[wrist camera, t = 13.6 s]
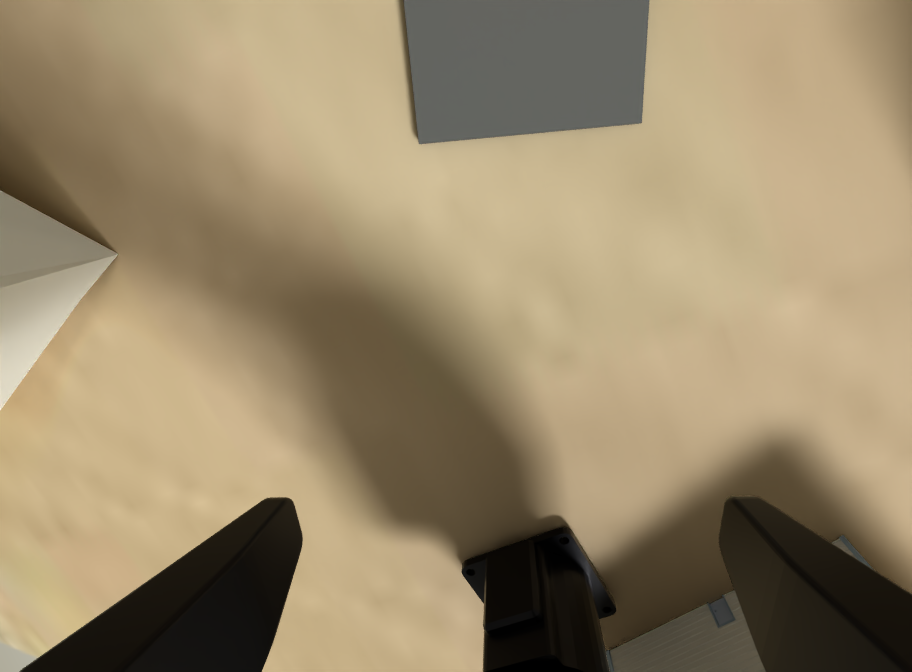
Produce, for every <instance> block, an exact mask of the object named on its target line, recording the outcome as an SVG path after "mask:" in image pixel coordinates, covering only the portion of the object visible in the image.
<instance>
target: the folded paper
mask: <svg viewBox="0 0 912 672" xmlns="http://www.w3.org/2000/svg"><path fill="white" fill-rule="evenodd" d="M117 255H118V254H117V253H116V252H114V251H112V250H110V249H108V248H106V247H104V246H103V245H101V244H99V243H97V242H95V241H93V240H91V239H90V238H88V237H86V236H84V235H82V234H80V233H78V232H77V231H75V230H73V229H71V228H69V227H67V226H66V225H64V224H62V223H60V222H58V221H56V220H54V219H53V218H51V217H49V216H47V215H45V214H43V213H41V212H40V211H38V210H36V209H34V208H32V207H30V206H28V205H27V204H25V203H23V202H21V201H19V200H17V199H15V198H14V197H12V196H10V195H8V194H6V193H4V192H3V191H1V190H0V410H1V409H2V407H3V406H4V404H5V403H6V402H7V400H8V399H9V398H10V396H11V395H12V393H13V392H14V391H15V389H16V388H17V387H18V385H19V384H20V382H21V381H22V380H23V378H24V377H25V376H26V374H27V373H28V371H29V370H30V369H31V367H32V366H33V365H34V363H35V362H36V360H37V359H38V358H39V356H40V355H41V354H42V352H43V351H44V349H45V348H46V347H47V345H48V344H49V343H50V341H51V340H52V338H53V337H54V336H55V334H56V333H57V332H58V330H59V329H60V327H61V326H62V325H63V323H64V322H65V321H66V319H67V318H68V316H69V315H70V314H71V312H72V311H73V310H74V308H75V307H76V305H77V304H78V303H79V301H80V300H81V299H82V297H83V296H84V295H85V294H86V293H87V291H88V290H89V289H90V288H91V287H92V285H93V284H94V283H95V282H96V281H97V279H98V278H99V277H100V276H101V275H102V273H103V272H104V271H105V270H106V269H107V267H108V266H109V265H110V264H111V263H112V261H113V260H114V259H115V258H116V257H117Z"/></svg>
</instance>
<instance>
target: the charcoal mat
mask: <svg viewBox="0 0 912 672" xmlns="http://www.w3.org/2000/svg"><path fill="white" fill-rule="evenodd" d="M404 8H405V17H406V27H407V36H408V46H409V55H410V64H411V74H412V83H413V93H414V102H415V112H416V121H417V131H418V140H419V144H426V143H437V142H448V141H458V140H469V139H480V138H490V137H501V136H512V135H522V134H533V133H544V132H554V131H565V130H576V129H586V128H597V127H608V126H619V125H629V124H639V123H642V110H643V94H644V78H645V61H646V45H647V29H648V13H649V0H404Z"/></svg>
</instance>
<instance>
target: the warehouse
mask: <svg viewBox="0 0 912 672" xmlns="http://www.w3.org/2000/svg"><path fill="white" fill-rule="evenodd" d="M831 543H832V544H834V545H835V546H837V547H839V548H840V549H842V550H843V551H845V552H846V553H848V554H850V555H851V556H853V557H854V558H856V559H857V560H859V561H861V562H862V563H864V564H865V565H867V566H868V567H870V568H872V567H871V566H870V565H869V564H868V563H867V561H866V560H865V559H864V558H863V557H862V556H861V555H860V554H859V552H858V551H857V550H856V549H855V548H854V547H853V546H852V544H851V543H850V542H849V541H848V540H847V539H846V538H845V537H844V536H843V535H842V536H840V537H839V539H837V540H835V541H833V542H831ZM872 569H873V568H872ZM873 570H874V569H873ZM722 597H723V598H721V599H719V600H717V601H715V602H713V603H711V604H709V603H708V602H707V603H706V604H704V605H702V606H700V607H698V608H696V609H694V610H692V611H690V612H688V613H686V614H684V615H682V616H680V617H678V618H676V619H674V620H672V621H670V622H668V623H665V624H663V625H661V626H659V627H657V628H655V629H653V630H651V631H649V632H647V633H645V634H643V635H641V636H639V637H637V638H635V639H633V640H631V641H629V642H627V643H625V644H622V645H620V646H618V647H616V648H614V649H612V650H610V651H609V650H607V651H606V655H607V660H608V665H609V670H610V672H766V671H765V669H764V666H763V664H762V662H761V660H760V657H759V655H758V652H757V650H756V647H755V644H754V642H753V639H752V636H751V634H750V631H749V628H748V625H747V623H746V620H745V617H744V615H743V612H742V609H741V606H740V604H739V601H738V598H737V595H736V593H735V590H733V591H731V592H729V593H727V594H725V595H722Z"/></svg>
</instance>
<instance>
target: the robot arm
mask: <svg viewBox="0 0 912 672" xmlns="http://www.w3.org/2000/svg"><path fill="white" fill-rule="evenodd" d="M562 537H566V538H562ZM302 541H303V538H302V531H301V528H300V524H299V520H298V517H297V513H296V509H295V506H294V503H293V501H292V500H291V499H290V498H286V497H277V498H266V499H264V500H263V501H261V502H260V503H258V504H257V505H255V506H254V507H252V508H251V509H250V510H248V511H247V512H245V513H244V514H242V515H241V516H240V517H238V518H237V519H235V520H234V521H232V522H231V523H230V524H228V525H227V526H225V527H224V528H223V529H221V530H220V531H218V532H217V533H215V534H214V535H213V536H211V537H210V538H208V539H207V540H205V541H204V542H203V543H201V544H200V545H198V546H197V547H195V548H194V549H193V550H191V551H190V552H188V553H187V554H185V555H184V556H183V557H181V558H180V559H178V560H177V561H176V562H174V563H173V564H171V565H170V566H168V567H167V568H166V569H164V570H163V571H161V572H160V573H158V574H157V575H156V576H154V577H153V578H151V579H150V580H148V581H147V582H146V583H144V584H143V585H141V586H140V587H138V588H137V589H136V590H134V591H133V592H131V593H130V594H128V595H127V596H126V597H124V598H123V599H121V600H120V601H119V602H117V603H116V604H114V605H113V606H111V607H110V608H109V609H107V610H106V611H104V612H103V613H101V614H100V615H99V616H97V617H96V618H94V619H93V620H91V621H90V622H89V623H87V624H86V625H84V626H83V627H81V628H80V629H79V630H77V631H76V632H74V633H73V634H71V635H70V636H69V637H67V638H66V639H64V640H63V641H61V642H60V643H59V644H57V645H56V646H54V647H53V648H51V649H50V650H49V651H47V652H46V653H44V654H43V655H42V656H40V657H39V658H37V659H36V660H34V661H33V662H32V663H30V664H29V665H27V666H26V667H24V668H23V669H22V670H20V672H262V669H263V667H264V665H265V662H266V660H267V657H268V654H269V652H270V649H271V646H272V644H273V641H274V638H275V635H276V632H277V629H278V625H279V622H280V619H281V615H282V612H283V609H284V605H285V602H286V599H287V595H288V592H289V589H290V585H291V582H292V579H293V575H294V572H295V569H296V565H297V562H298V559H299V555H300V552H301V548H302ZM719 547H720V551H721V554H722V557H723V560H724V563H725V565H726V568H727V571H728V573H729V576H730V579H731V582H732V584H733V587H734V590H735V593H736V595H737V598H738V601H739V604H740V606H741V609H742V612H743V615H744V617H745V620H746V623H747V625H748V628H749V631H750V634H751V636H752V639H753V642H754V644H755V647H756V650H757V652H758V655H759V657H760V660H761V662H762V664H763V666H764V669H765V671H766V672H912V594H911V593H909V592H908V591H906V590H904V589H903V588H901V587H900V586H898V585H897V584H895V583H893V582H892V581H890V580H889V579H887V578H886V577H884V576H882V575H881V574H879V573H878V572H876V571H875V570H873V569H872V568H870V567H868V566H867V565H865V564H864V563H862V562H861V561H859V560H857V559H856V558H854V557H853V556H851V555H850V554H848V553H846V552H845V551H843V550H842V549H840V548H839V547H837V546H835V545H834V544H832V543H831V542H829V541H828V540H826V539H825V538H823V537H821V536H820V535H818V534H817V533H815V532H814V531H812V530H810V529H809V528H807V527H806V526H804V525H803V524H801V523H799V522H798V521H796V520H795V519H793V518H792V517H790V516H788V515H787V514H785V513H784V512H782V511H781V510H779V509H778V508H776V507H774V506H773V505H771V504H770V503H768V502H767V501H765V500H763V499H762V498H760V497H757V496H730V497H728V498H727V499H726V500H725V503H724V508H723V514H722V520H721V526H720V532H719ZM471 569H472V570H471ZM462 574H463V576H464V577H465V579H466V580H467V582H468V583H469V584H470V586H471V587H472V588H473V590H474V591H475V592H476V594H477V595H478V596H479V598H480V599H481V601H482V602H483V603H484V620H483V627H484V651H483V672H610V671H609V666H608V661H607V656H606V651H605V647H604V642H603V637H602V632H601V627H600V623H599V619H601V618H604V617H608V616H611V615H613V614H614V613H615V612H616V606H615V602H614V600H613V598H612V596H611V595H610V593H609V592H608V590H607V588H606V587H605V585H604V583H603V582H602V580H601V578H600V577H599V575H598V573H597V572H596V570H595V568H594V567H593V565H592V564H591V562H590V560H589V559H588V557H587V555H586V554H585V552H584V550H583V549H582V547H581V545H580V544H579V542H578V541H577V539H576V537H575V536H574V534H573V532H572V531H571V530H570V529H568V528H564V527H562V528H558V529H555V530H552V531H549V532H546V533H543V534H540V535H538V536H535V537H532V538H529V539H526V540H523V541H520V542H517V543H515V544H512V545H509V546H506V547H503V548H500V549H497V550H494V551H492V552H489V553H486V554H483V555H480V556H477V557H474V558H471V559H468V560H466V561H464V562H463V564H462Z"/></svg>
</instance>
